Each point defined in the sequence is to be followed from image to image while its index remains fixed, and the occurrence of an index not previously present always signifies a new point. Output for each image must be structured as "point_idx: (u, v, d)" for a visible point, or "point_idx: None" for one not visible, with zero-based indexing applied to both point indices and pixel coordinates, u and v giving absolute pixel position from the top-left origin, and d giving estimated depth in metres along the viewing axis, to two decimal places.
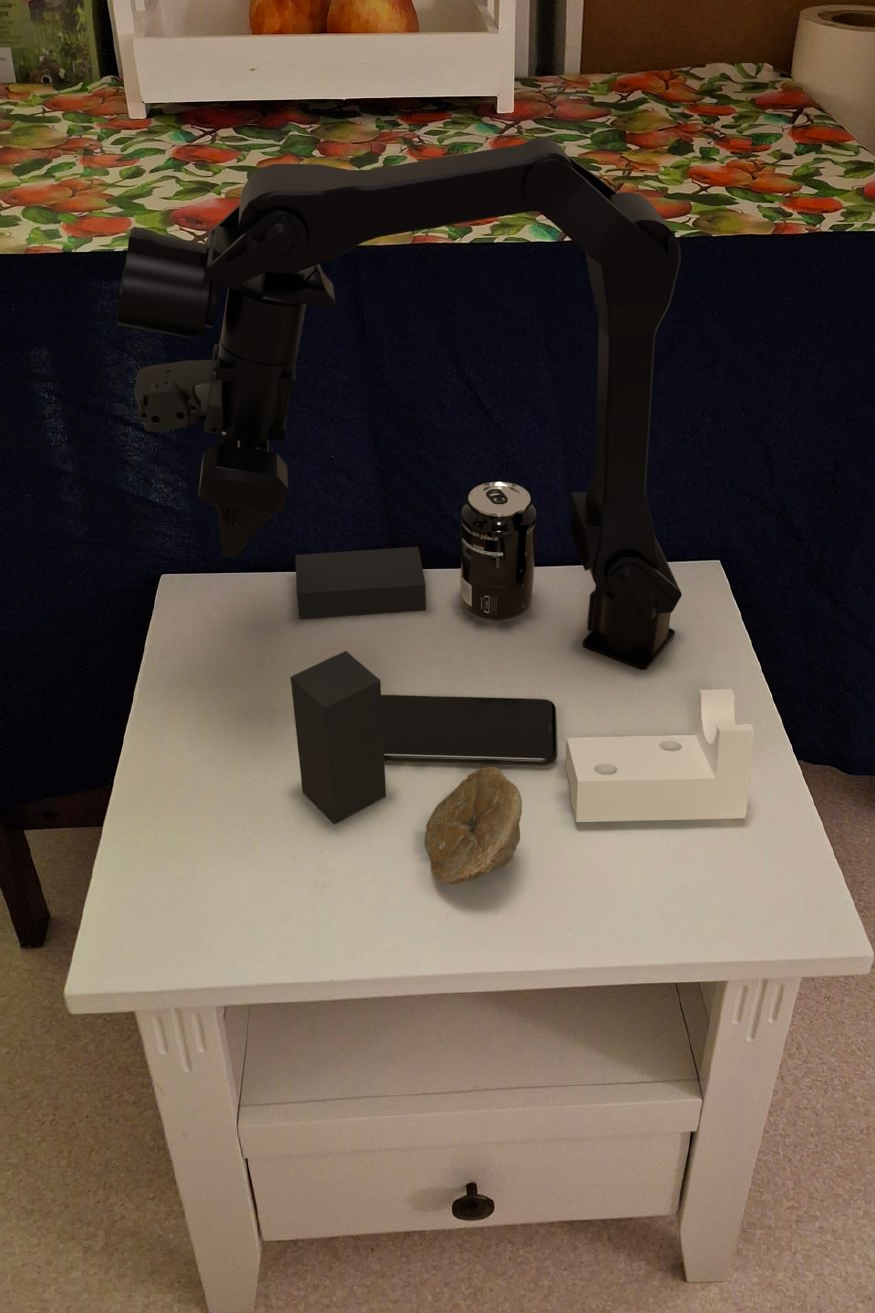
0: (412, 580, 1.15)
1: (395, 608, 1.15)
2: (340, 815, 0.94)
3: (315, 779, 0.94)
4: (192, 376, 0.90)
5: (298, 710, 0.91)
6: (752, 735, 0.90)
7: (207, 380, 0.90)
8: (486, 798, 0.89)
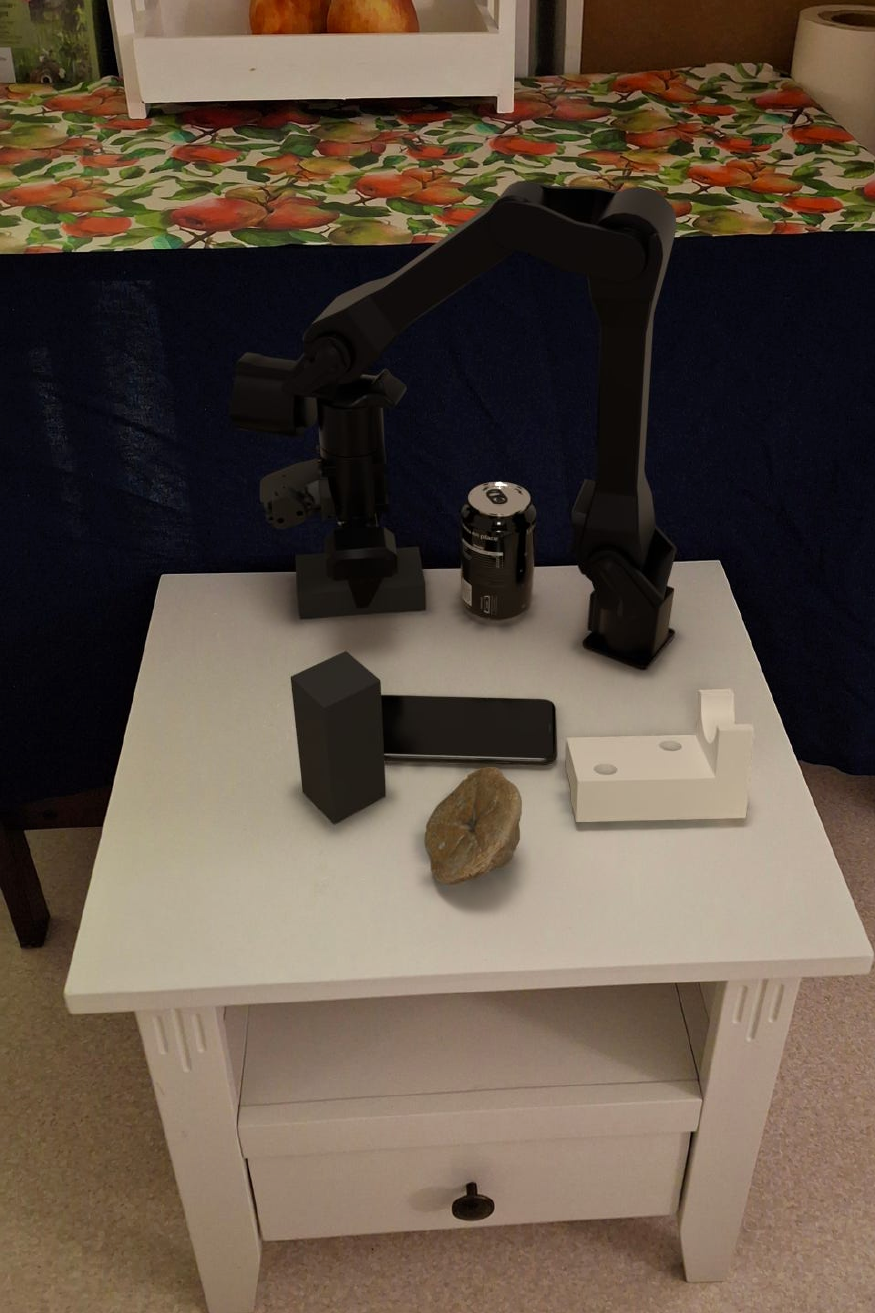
0: (412, 580, 1.15)
1: (395, 608, 1.15)
2: (340, 815, 0.94)
3: (315, 779, 0.94)
4: (303, 477, 1.09)
5: (298, 710, 0.91)
6: (752, 735, 0.90)
7: (316, 479, 1.08)
8: (486, 798, 0.89)
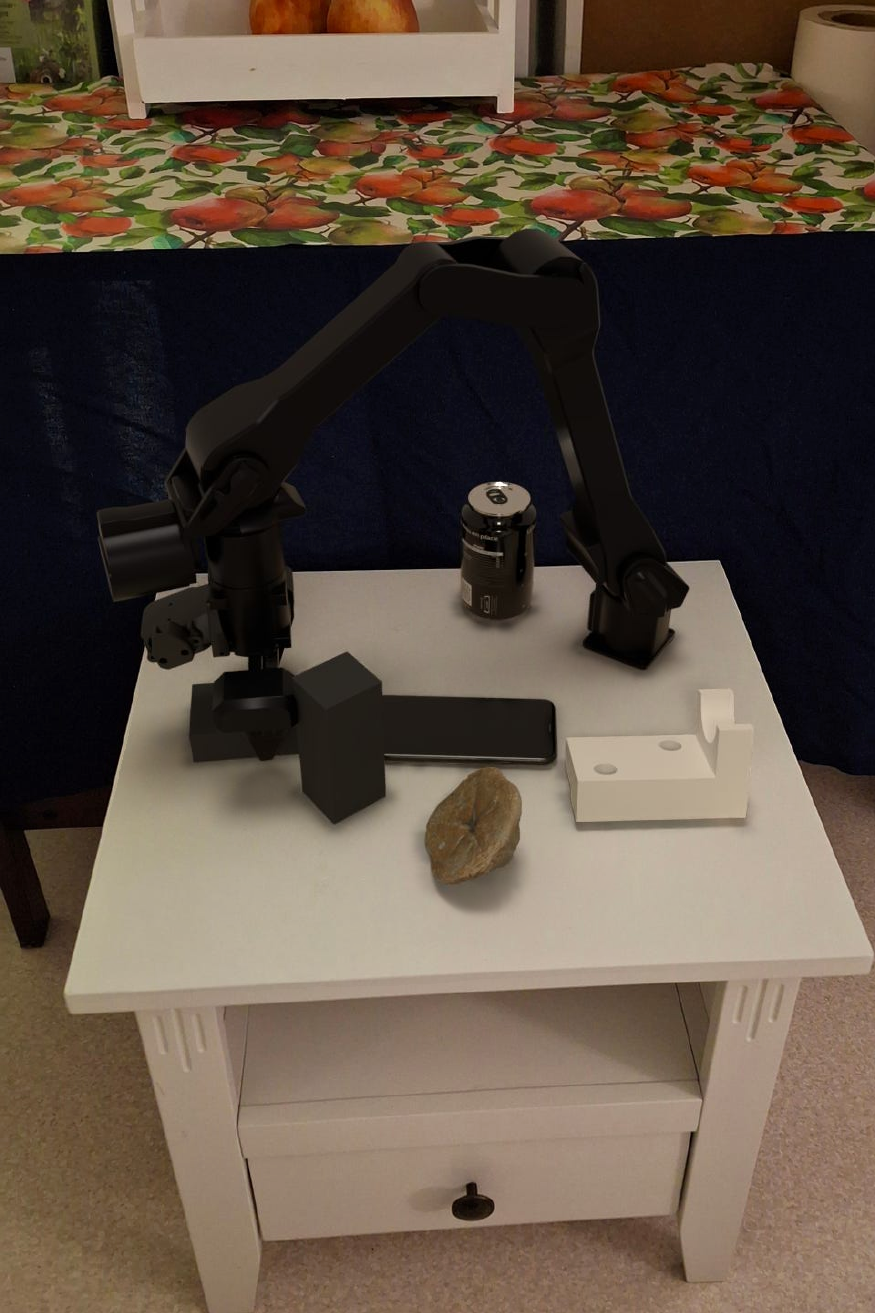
0: None
1: None
2: (340, 815, 0.94)
3: (315, 780, 0.94)
4: (191, 608, 0.93)
5: (299, 710, 0.91)
6: (752, 734, 0.90)
7: (204, 611, 0.92)
8: (486, 798, 0.89)
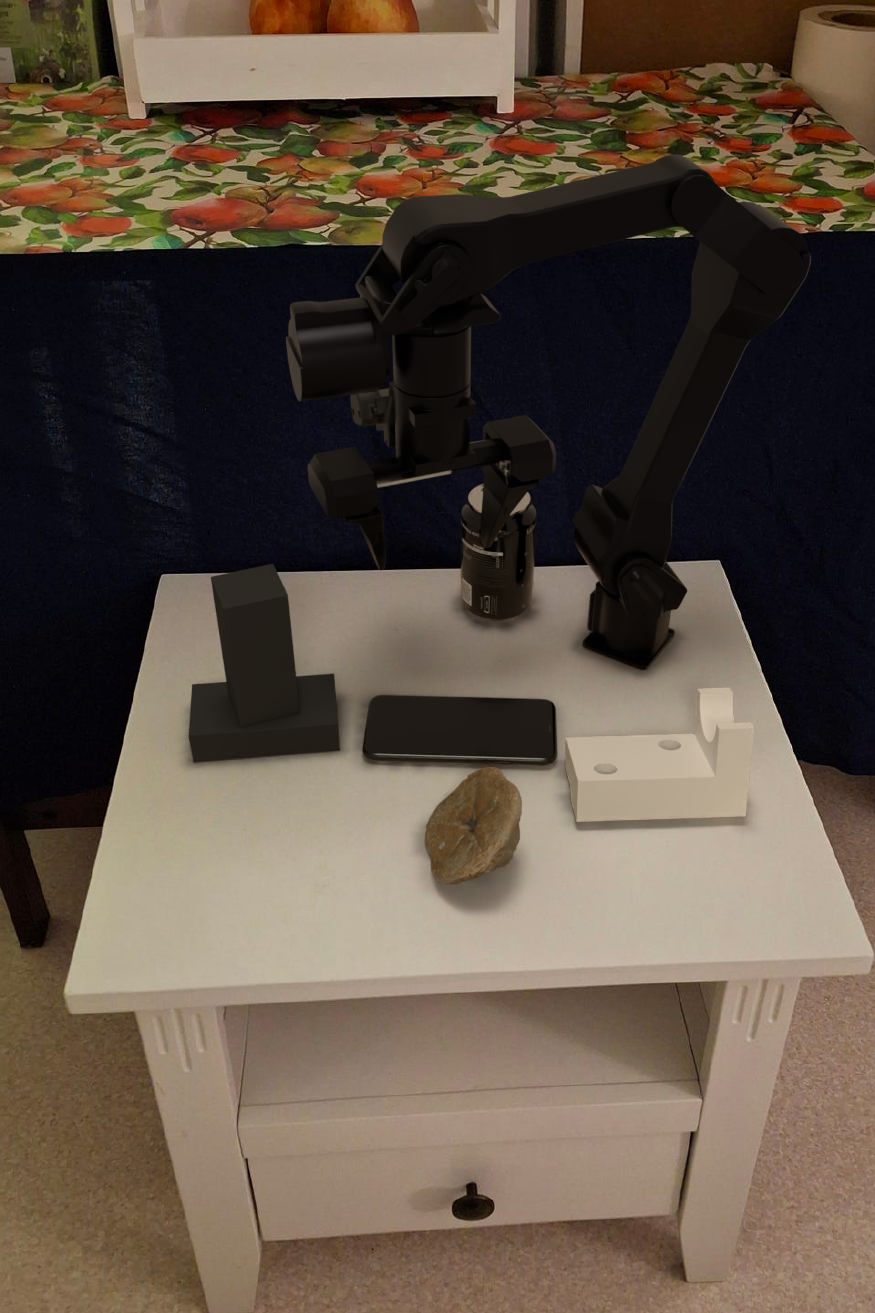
0: (323, 717, 0.99)
1: (304, 749, 1.00)
2: (247, 720, 0.98)
3: (229, 681, 0.98)
4: None
5: (216, 610, 0.96)
6: (751, 733, 0.91)
7: None
8: (486, 798, 0.89)
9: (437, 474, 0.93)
